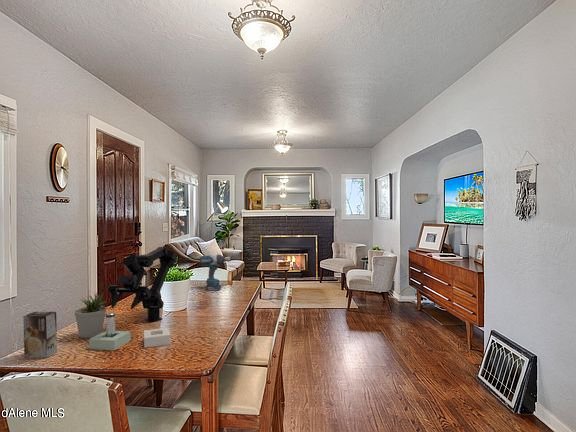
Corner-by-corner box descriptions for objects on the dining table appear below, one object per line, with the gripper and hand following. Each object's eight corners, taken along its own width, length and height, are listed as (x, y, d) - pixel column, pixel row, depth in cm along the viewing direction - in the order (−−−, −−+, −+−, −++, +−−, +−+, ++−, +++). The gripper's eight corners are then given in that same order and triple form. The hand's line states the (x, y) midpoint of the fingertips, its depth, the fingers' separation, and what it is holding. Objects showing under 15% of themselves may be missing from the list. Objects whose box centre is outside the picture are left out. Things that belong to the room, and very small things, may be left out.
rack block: (107, 339, 154) (107, 330, 154) (130, 340, 152) (130, 331, 152) (89, 349, 143) (89, 339, 143) (114, 350, 141) (114, 340, 141)
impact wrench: (230, 291, 246) (230, 255, 246) (198, 291, 246) (198, 255, 246) (232, 288, 254) (232, 253, 254) (201, 288, 254) (201, 253, 254)
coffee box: (58, 351, 140) (57, 311, 140) (47, 358, 134) (46, 316, 134) (34, 351, 140) (34, 311, 140) (22, 358, 134) (22, 316, 134)
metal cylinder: (106, 343, 149) (106, 312, 149) (116, 342, 150) (115, 312, 150) (105, 346, 145) (104, 315, 145) (114, 345, 146) (114, 314, 146)
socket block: (144, 339, 153) (144, 330, 153) (168, 336, 157) (168, 327, 157) (144, 347, 144) (144, 338, 144) (170, 344, 148) (170, 334, 148)
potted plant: (71, 342, 150) (71, 295, 149) (76, 332, 162) (76, 289, 162) (105, 338, 155) (104, 292, 154) (107, 329, 167) (107, 286, 167)
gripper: (109, 267, 161) (93, 297, 151) (147, 268, 159) (133, 299, 148) (120, 281, 169) (105, 310, 159) (156, 282, 166) (144, 312, 156)
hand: (121, 308), depth 155 cm, fingers open, 9 cm apart
